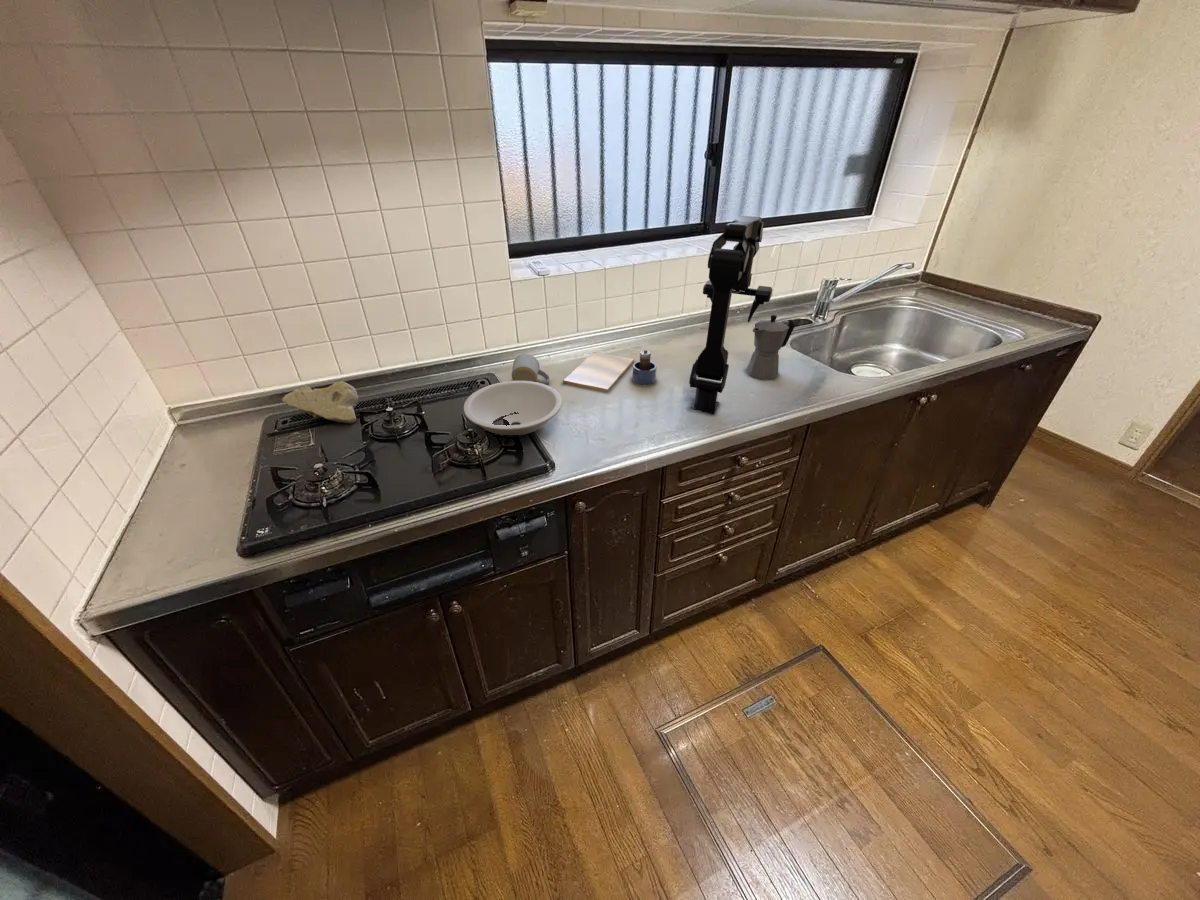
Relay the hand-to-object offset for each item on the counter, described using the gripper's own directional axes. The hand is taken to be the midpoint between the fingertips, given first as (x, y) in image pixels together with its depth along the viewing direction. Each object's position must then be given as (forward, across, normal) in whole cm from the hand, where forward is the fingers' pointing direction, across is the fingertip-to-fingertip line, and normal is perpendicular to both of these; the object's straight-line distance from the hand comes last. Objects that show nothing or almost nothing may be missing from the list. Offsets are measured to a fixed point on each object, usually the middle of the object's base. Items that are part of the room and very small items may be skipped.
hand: (732, 319), depth 147 cm
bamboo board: (+15, +34, +20) cm, 42 cm away
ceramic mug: (+15, +50, +34) cm, 62 cm away
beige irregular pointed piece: (+15, +88, +73) cm, 116 cm away
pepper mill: (+14, +20, +20) cm, 32 cm away
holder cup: (+15, +20, +20) cm, 32 cm away
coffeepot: (+15, -12, 0) cm, 19 cm away
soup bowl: (+15, +42, +56) cm, 72 cm away
